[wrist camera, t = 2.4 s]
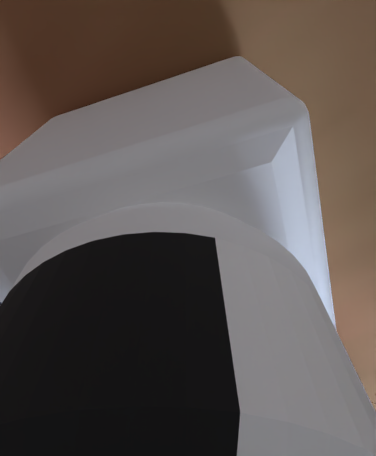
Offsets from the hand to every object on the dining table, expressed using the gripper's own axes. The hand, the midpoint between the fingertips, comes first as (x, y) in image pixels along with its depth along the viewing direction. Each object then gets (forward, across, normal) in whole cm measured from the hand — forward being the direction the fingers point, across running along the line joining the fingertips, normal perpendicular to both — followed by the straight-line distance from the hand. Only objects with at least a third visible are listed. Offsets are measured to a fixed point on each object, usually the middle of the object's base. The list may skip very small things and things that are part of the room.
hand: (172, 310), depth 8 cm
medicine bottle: (+7, 0, 0) cm, 7 cm away
